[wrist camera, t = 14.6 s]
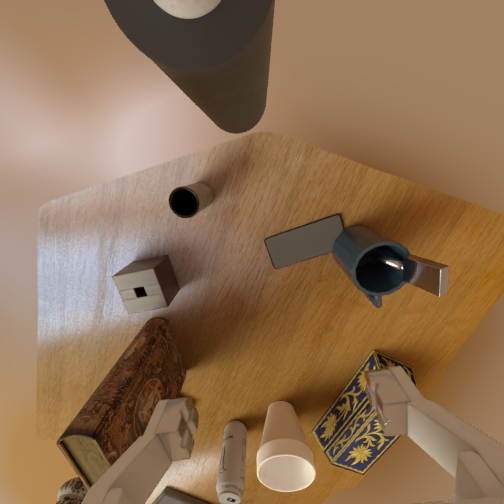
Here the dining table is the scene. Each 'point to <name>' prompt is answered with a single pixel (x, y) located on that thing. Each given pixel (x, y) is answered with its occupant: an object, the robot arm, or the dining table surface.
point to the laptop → (176, 498)
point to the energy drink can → (232, 464)
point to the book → (124, 402)
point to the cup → (284, 451)
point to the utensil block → (147, 284)
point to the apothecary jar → (72, 492)
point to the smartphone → (304, 241)
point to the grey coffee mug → (369, 261)
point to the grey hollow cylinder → (190, 199)
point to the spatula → (418, 271)
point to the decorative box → (356, 421)
